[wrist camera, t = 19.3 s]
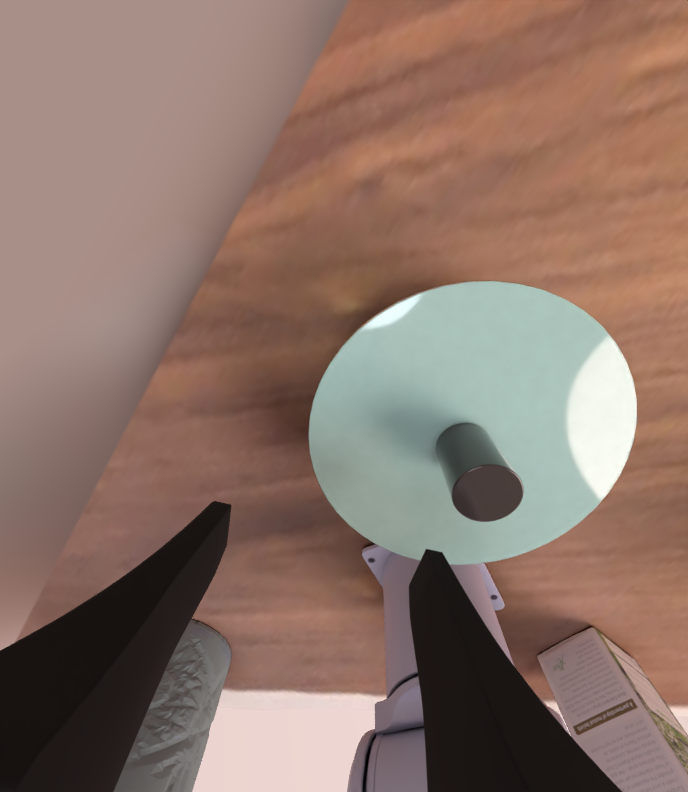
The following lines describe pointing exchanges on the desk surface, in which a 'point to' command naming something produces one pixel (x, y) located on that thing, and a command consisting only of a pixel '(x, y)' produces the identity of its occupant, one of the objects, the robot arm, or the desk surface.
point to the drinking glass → (179, 715)
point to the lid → (472, 422)
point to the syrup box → (617, 714)
